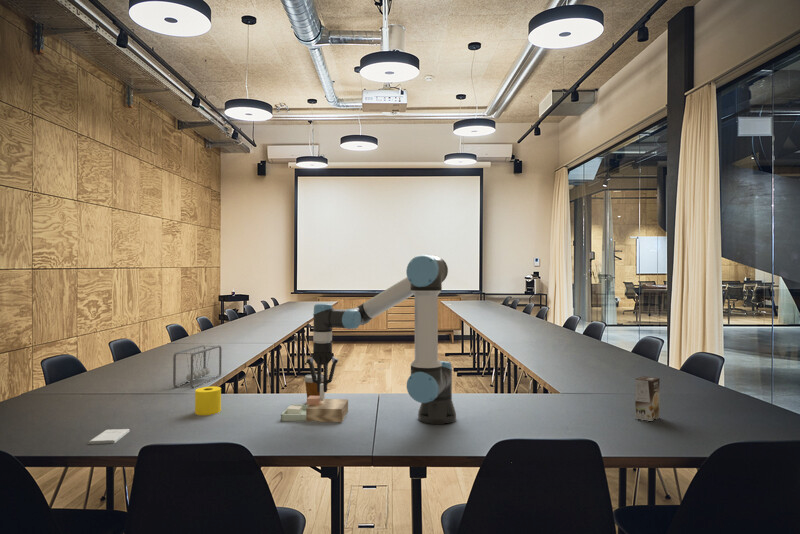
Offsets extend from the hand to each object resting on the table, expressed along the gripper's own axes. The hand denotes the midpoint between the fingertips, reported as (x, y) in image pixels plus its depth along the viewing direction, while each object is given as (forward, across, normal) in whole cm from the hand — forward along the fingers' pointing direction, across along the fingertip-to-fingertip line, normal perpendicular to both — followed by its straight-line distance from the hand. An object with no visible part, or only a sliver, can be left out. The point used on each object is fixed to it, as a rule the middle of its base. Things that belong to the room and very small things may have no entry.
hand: (322, 400), depth 200 cm
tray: (+7, +10, 0) cm, 12 cm away
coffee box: (+6, -130, -5) cm, 131 cm away
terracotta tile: (+1, +3, 0) cm, 3 cm away
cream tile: (+3, +11, 0) cm, 12 cm away
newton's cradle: (+7, +79, -57) cm, 98 cm away
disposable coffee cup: (+7, +8, -20) cm, 22 cm away
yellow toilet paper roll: (+7, +49, -3) cm, 49 cm away
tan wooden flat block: (+6, -2, 0) cm, 7 cm away
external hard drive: (+8, +69, +31) cm, 75 cm away
